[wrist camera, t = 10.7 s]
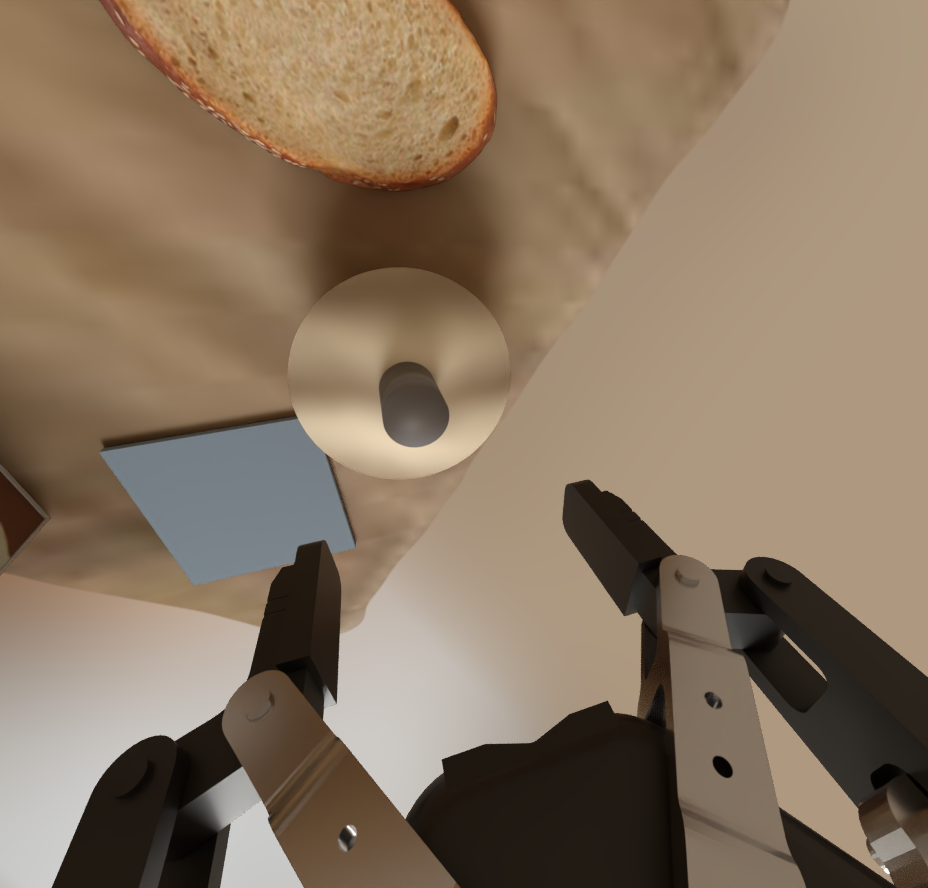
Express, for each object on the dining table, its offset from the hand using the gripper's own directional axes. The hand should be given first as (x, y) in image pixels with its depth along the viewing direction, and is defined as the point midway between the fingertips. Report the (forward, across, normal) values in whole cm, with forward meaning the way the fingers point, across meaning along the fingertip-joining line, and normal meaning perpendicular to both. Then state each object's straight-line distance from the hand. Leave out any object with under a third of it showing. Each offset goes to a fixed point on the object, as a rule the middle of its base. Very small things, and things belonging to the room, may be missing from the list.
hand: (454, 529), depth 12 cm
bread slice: (+21, +1, -18) cm, 28 cm away
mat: (+20, +15, +11) cm, 27 cm away
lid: (+14, 0, 0) cm, 14 cm away
